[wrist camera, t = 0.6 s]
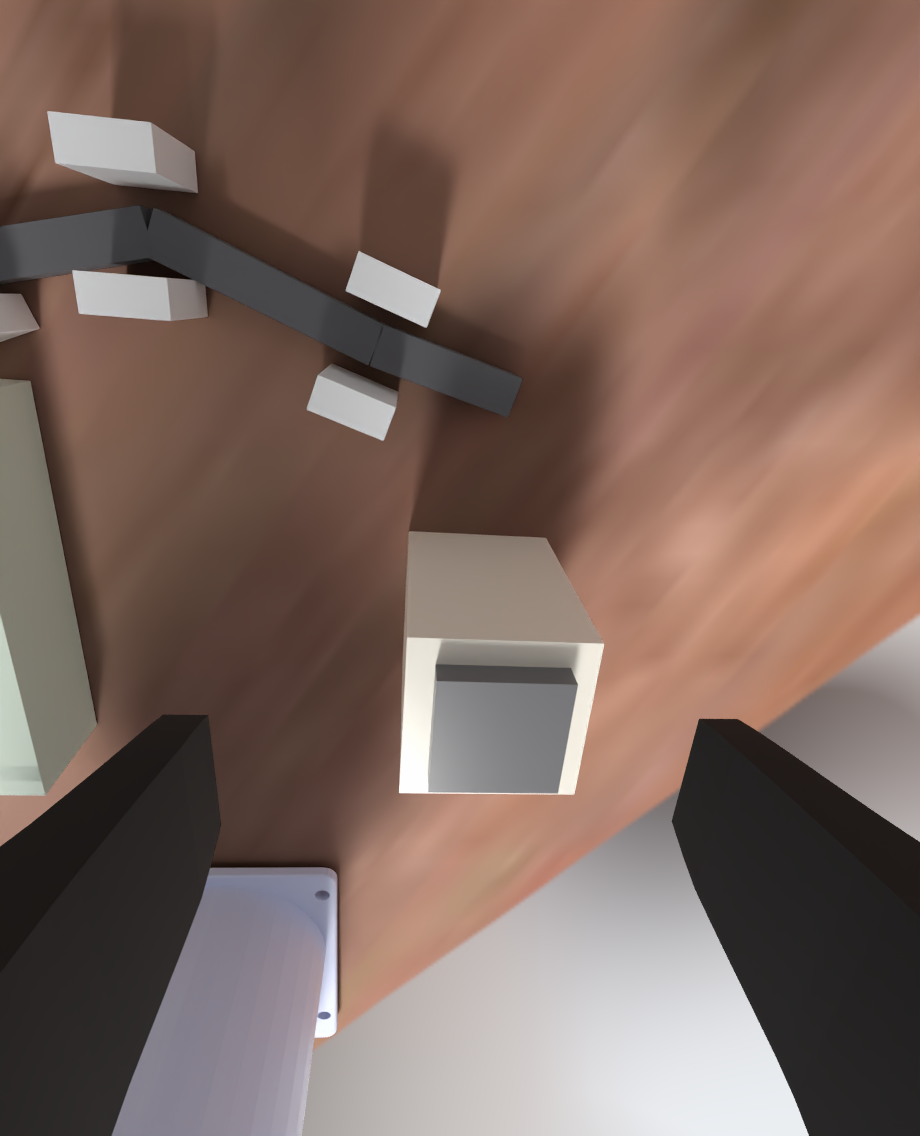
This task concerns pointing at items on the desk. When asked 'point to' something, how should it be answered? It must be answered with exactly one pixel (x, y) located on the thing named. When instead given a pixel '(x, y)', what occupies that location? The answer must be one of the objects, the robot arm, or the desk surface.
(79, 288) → the clips
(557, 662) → the block
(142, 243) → the cable
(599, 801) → the desk surface
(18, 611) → the holder
